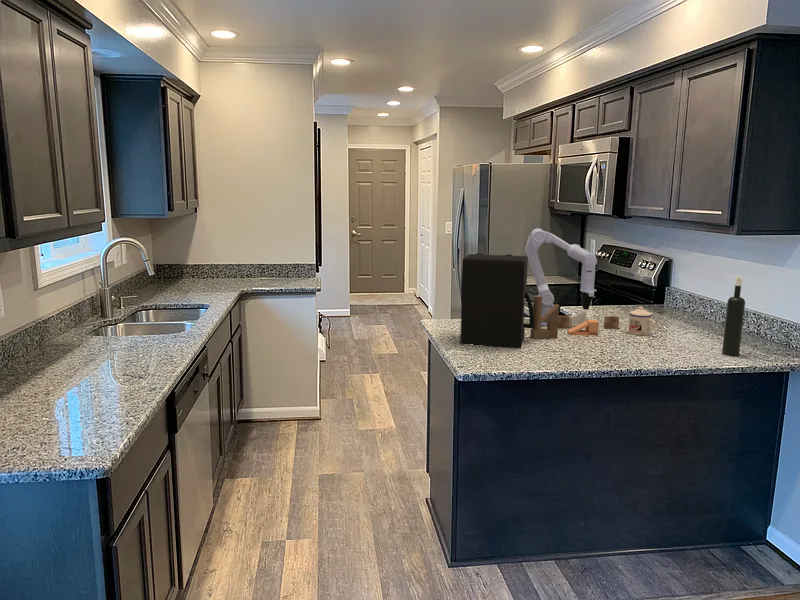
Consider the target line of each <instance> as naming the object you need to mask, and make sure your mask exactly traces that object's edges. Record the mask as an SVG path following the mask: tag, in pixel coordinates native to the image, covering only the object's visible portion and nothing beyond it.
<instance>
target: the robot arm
mask: <svg viewBox="0 0 800 600" xmlns="http://www.w3.org/2000/svg"><path fill="white" fill-rule="evenodd" d="M544 243H546V244H554V245H556V246H557V247H559V248H561V249H562V250H565V251H566V252H567V256H569V257H570V258H572V259H574V260H575V261H577V262H578V263H579V262H580V263H582V269H581V277H580V279H581V280H580V289H579V291H580V292H582V293H579V296H580V299H581V304H582V309H583V310H586V311H587V310H589V309H590V306H591V303H592V301H593V299H594V298H595V292H597V289H595V279H596V265H597V264H598V259H597V257H596V255H594V254H592V252H590V251H589V250H588V249H587V250H586V249H584V248H582V247H581V245H580V244H576V243H573V244H569V243H568V242H566V241H565V240H563V239H561V238H560V237H558V236H557V235H555V234H554V233H551V232H548V231H546V230H543V229H542V228H540V227H539V228H535V229H532V231H531V232H530V234H528V237H527V243H526V244H525V245H526V246H525V250H524V251H525V254H526V256H528V264H529V267H530V270H531V271H532V275H533V278H534V281H535V283H536V287H537V291H538V294H537V295H539V296H542V315H541V318H542V317H543V316H544V315H545V314H546V313H547V312H548V311H549V310H550V309H551V308H552V307H553V306H554V305H555V304H554V302H555V297H554V294H553V293H552V291H551V290H550V288H549V285H548V282H547V280H546V277H545V273H544V271H543V267H542V265H541V261H540V259H539V255H538V253H537V252H538V250H539V248H540V246H541V245H542V244H544ZM541 326H547V322H541Z"/></svg>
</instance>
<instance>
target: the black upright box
mask: <svg viewBox="0 0 800 600" xmlns="http://www.w3.org/2000/svg"><path fill="white" fill-rule="evenodd" d="M461 264H462V265H461V266H462V270H461V272H462V273H461V303H460V304H461V305H460V307H461V309H460V310H461V312H460V313H461V314H460V344H461V343H462V344H461V345H464V344H473V345H472V346H477V345H483V346H482V347H491V346H493V348H495V347H496V348H504V347H505V349H507V348H509V349H517V348H520V349H521V350H522V346H523V344H522V343H523V342H524V340H525V334H526V333H525V331H526V329H532V328H534V311H533V301H532V298H531V296H530V295H529V293H528V291H526V289H527V286H528V285H527V284H528V283H527V282H528V265H529V260H528V256H527V255H512V254H510V253H509V254H502V255H501V254H483V253H469V254H468V255H466V256H465V257H463V258H462V263H461ZM525 301H526V302H527V303H526V304H527V307H528V315H529V323H524V322H525V321H524V320H525ZM520 349H519V350H520Z"/></svg>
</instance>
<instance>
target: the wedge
mask: <svg viewBox="0 0 800 600" xmlns="http://www.w3.org/2000/svg"><path fill="white" fill-rule="evenodd" d="M599 326H600V322H599V321H598V320H597V319H586V321H585V322H583V323H581V324H579V325H577V326H575V327H572V328H571V327H570V328H569V329H566V330H567V331H566V332H567V333H566V334H567V335H569V336H570V335H596V336H595V337H598V336H599V328H600V327H599ZM597 335H598V336H597Z"/></svg>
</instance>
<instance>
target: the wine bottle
mask: <svg viewBox="0 0 800 600" xmlns="http://www.w3.org/2000/svg"><path fill="white" fill-rule="evenodd" d="M742 283H743V276H740V275H738V276H736V277H735V281H734V293H733V296H731V297H729V298H728V299H727V304H726V312H725V313H726V314H725V323H724V330H723V331H724V332H723V341H722V348H721V349H722V351H721V354H722V355H724V356H727V357H739V356H740V352H741V342H742V332H743V325H744V315H745V307H746V300H745V299H744V298H743V297H741V290H742Z"/></svg>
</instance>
